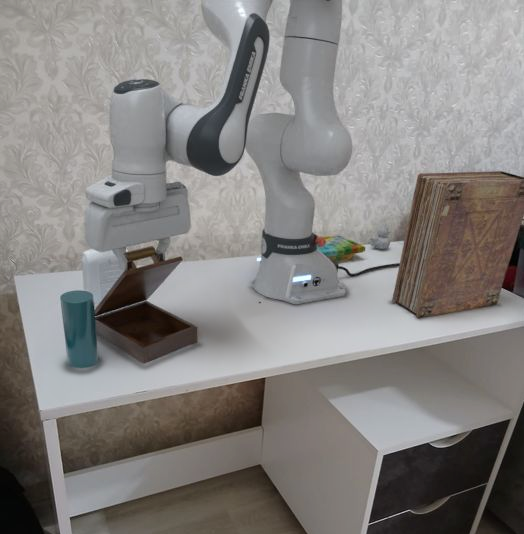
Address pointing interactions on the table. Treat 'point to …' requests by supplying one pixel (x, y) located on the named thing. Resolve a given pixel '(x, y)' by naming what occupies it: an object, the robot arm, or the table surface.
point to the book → (459, 241)
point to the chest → (145, 331)
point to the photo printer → (100, 272)
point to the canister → (79, 328)
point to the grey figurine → (381, 238)
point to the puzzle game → (340, 248)
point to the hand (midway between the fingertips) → (142, 265)
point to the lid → (137, 281)
